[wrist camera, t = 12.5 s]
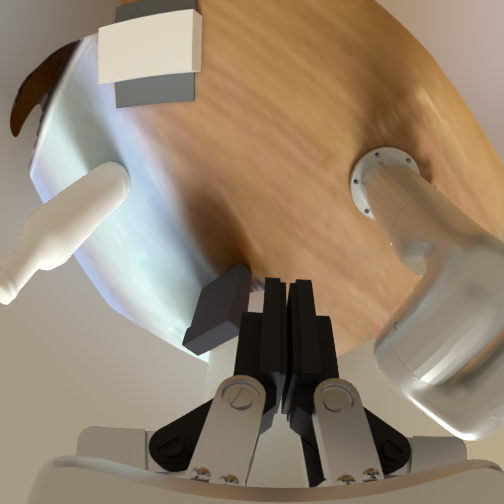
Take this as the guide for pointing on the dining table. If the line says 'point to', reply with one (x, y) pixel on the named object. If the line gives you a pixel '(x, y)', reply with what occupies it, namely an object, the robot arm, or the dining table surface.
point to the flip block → (150, 46)
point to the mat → (162, 85)
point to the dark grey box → (219, 311)
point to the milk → (220, 367)
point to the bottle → (63, 225)
